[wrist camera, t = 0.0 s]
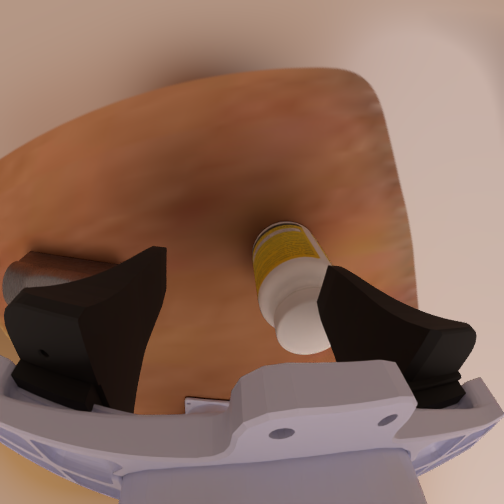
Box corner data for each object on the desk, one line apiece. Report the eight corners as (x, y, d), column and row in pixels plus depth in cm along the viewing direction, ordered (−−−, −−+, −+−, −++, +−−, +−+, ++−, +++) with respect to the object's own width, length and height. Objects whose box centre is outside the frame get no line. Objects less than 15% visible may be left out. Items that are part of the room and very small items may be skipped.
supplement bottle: (238, 259, 23) (242, 342, 14) (277, 207, 21) (309, 267, 12) (289, 289, 24) (315, 372, 16) (328, 242, 23) (378, 312, 14)
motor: (138, 347, 27) (123, 393, 21) (50, 327, 25) (26, 363, 19) (129, 256, 22) (100, 299, 16) (29, 243, 21) (-9, 274, 15)
